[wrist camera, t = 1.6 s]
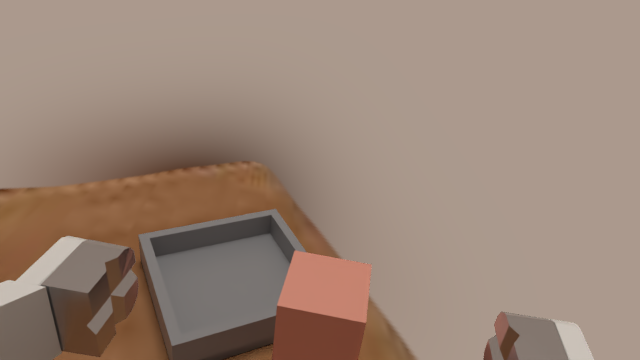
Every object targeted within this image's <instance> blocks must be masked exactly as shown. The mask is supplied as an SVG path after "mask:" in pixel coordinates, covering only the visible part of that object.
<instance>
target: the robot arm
mask: <svg viewBox="0 0 640 360" xmlns="http://www.w3.org/2000/svg"><path fill="white" fill-rule="evenodd" d="M135 262H136V261H135V255H134V250H132V249H131V248H129V247H125V246H119V245H114V244H109V243H104V242H99V241H94V240H86V239H82V238H77V237H72V236H66V237H63V238H61V239H59V240H58V241H57V242H56V243H55V244H54V245H53V246H52V247H51V248H50V249H49V250H48V251H47V252H46V253H45V254H44V255H43V256H41V257H40V258H39V259H38V260H37V261H36V262H35V263H34V264H33V265H32V266H31V267H30V268H29V269H28V270H27V271H26V272H25V273H23V274H22V275H21V276H20V277H19V278H18V279H17V280H16V281H11V280H8V281H5V282H2V283H0V360H52V359H54V358H55V357H57V356H58V355H60V354H61V353H62V352H61V351H65V352H71V353H77V354H83V355H89V356H96V357H101V355H102V354H103V352H104V351H105V349H106V348H107V346H108V345H109V343H110V342H111V340H112V339H113V338H114V336H115V335H116V329H115V324H117V323H119V322H121V321H122V320H124V319H126V318H127V317H128V315H129V314H130V312H131V311H132V309H133V307H134V304H135V301H136V298H137V294H138V278H137V276H136V275H135V274H134V273H133V272H132V270H131V268H132V266H133V265H134V264H135ZM494 326H495V331H496V335H495V336H494V337H492V338H491V339H489V340H488V343H487V345H486V348H485V352H484V360H594V358H593V356H592V354H591V352H590V349H589V347H588V345H587V343H586V340H585V338H584V336H583V334H582V332H581V330H580V327H579V326H578V325H577V324H576V323H572V322H565V321H559V320H552V319H550V320H548V319H543V318H537V317H531V316H525V315H519V314H513V313H507V312H501V313H500V314H499V315H498V316H497V319H496V322H495V324H494Z"/></svg>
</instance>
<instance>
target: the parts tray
mask: <svg viewBox="0 0 640 360" xmlns="http://www.w3.org/2000/svg"><path fill="white" fill-rule="evenodd" d="M138 236H139V246H140V256H141V263H142V266H143V270H144V273H145V277H146V280H147V284H148V287H149V291H150V294H151V298H152V301H153V305H154V308H155V312H156V315H157V319H158V322H159V326H160V329H161V333H162V336H163V339H164V343H165V346H166V350H167V353H168V357H169V360H223V359H226V358H229V357H232V356H235V355H238V354H241V353H244V352H247V351H251V350H254V349H257V348H260V347H263V346H266V345H269V344H272V343H274V332H275V321H276V310H277V304H278V301H279V298H280V294H281V291H282V288H283V285H284V282H285V279H286V276H287V273H288V270H289V267H290V263H291V260H292V257H293V254H294V251H295V250H296V251H301V252H306V251H305V249H304V248H303V247H302V245H301V244H300V242H299V241H298V240H297V238H296V237H295V235H294V234H293V233H292V231H291V230H290V228H289V227H288V226H287V224H286V223H285V221H284V220H283V219H282V217H281V216H280V214H279V213H278V212H277V210H276V209H273V210H268V211H262V212H257V213H252V214H246V215H241V216H236V217H230V218H225V219H220V220H214V221H209V222H204V223H198V224H193V225H188V226H182V227H177V228H172V229H166V230H161V231H156V232H150V233H145V234H140V235H138ZM306 253H307V252H306Z"/></svg>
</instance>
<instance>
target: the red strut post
mask: <svg viewBox="0 0 640 360" xmlns="http://www.w3.org/2000/svg"><path fill="white" fill-rule="evenodd" d="M370 276H371V265H370V264H365V263H359V262H353V261H349V260H343V259H338V258H333V257H328V256H322V255H317V254H312V253H306V252H301V251H296V250H295V251H294V254H293V257H292V260H291V263H290V267H289V270H288V273H287V276H286V279H285V282H284V285H283V288H282V291H281V294H280V298H279V301H278V304H277V310H276V321H275V332H274V343H273V354H272V360H358V356H359V352H360V348H361V343H362V339H363V334H364V330H365V325H366V318H367V308H368V297H369V286H370Z"/></svg>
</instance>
